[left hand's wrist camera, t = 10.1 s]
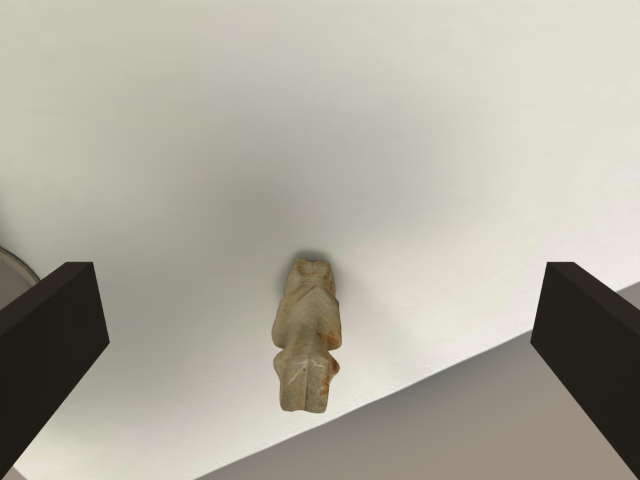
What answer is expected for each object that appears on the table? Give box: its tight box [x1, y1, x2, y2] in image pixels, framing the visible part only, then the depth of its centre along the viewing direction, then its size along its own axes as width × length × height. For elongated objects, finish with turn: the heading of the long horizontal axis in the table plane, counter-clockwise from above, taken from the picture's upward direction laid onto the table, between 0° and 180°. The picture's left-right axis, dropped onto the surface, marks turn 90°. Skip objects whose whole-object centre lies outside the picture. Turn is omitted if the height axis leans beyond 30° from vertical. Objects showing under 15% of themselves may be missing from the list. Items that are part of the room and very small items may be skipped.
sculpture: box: [272, 259, 342, 413], centre depth 36 cm, size 6×7×15 cm
